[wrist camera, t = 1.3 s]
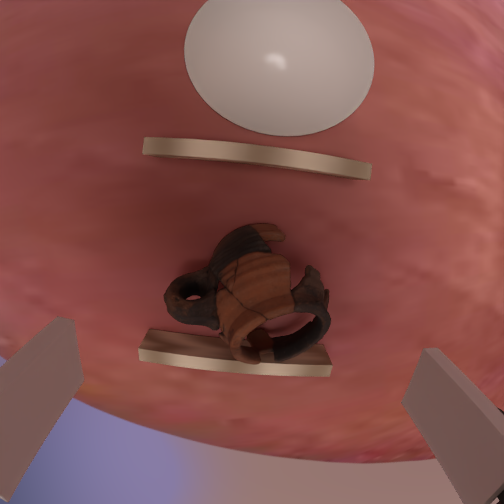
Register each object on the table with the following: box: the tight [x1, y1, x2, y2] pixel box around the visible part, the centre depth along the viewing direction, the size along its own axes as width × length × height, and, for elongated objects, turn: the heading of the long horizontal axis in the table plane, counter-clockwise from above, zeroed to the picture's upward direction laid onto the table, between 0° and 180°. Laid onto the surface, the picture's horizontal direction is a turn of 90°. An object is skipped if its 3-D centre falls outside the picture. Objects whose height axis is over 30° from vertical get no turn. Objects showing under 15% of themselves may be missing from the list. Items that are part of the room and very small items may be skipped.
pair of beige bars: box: [138, 137, 372, 376], centre depth 23 cm, size 16×17×4 cm
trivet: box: [184, 0, 374, 136], centre depth 21 cm, size 16×16×1 cm
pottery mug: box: [164, 224, 331, 365], centre depth 23 cm, size 12×9×8 cm
